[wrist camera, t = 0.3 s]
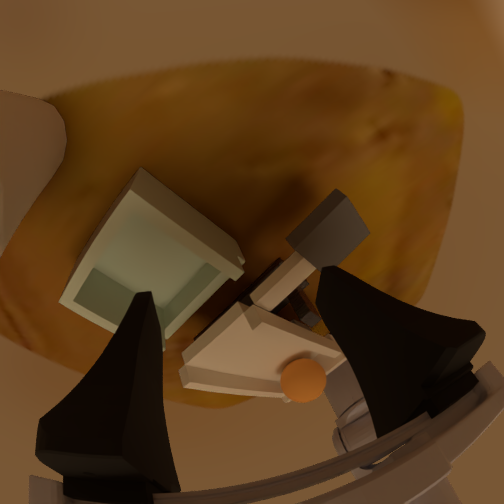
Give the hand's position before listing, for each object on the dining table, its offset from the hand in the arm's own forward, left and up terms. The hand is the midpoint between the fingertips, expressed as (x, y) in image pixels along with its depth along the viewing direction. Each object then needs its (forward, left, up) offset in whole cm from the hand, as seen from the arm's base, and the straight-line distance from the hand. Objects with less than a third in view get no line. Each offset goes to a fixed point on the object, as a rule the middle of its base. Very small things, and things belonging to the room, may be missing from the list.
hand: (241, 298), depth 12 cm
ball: (-14, +5, -3) cm, 15 cm away
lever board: (-9, +1, -7) cm, 12 cm away
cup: (+1, +5, -10) cm, 11 cm away
